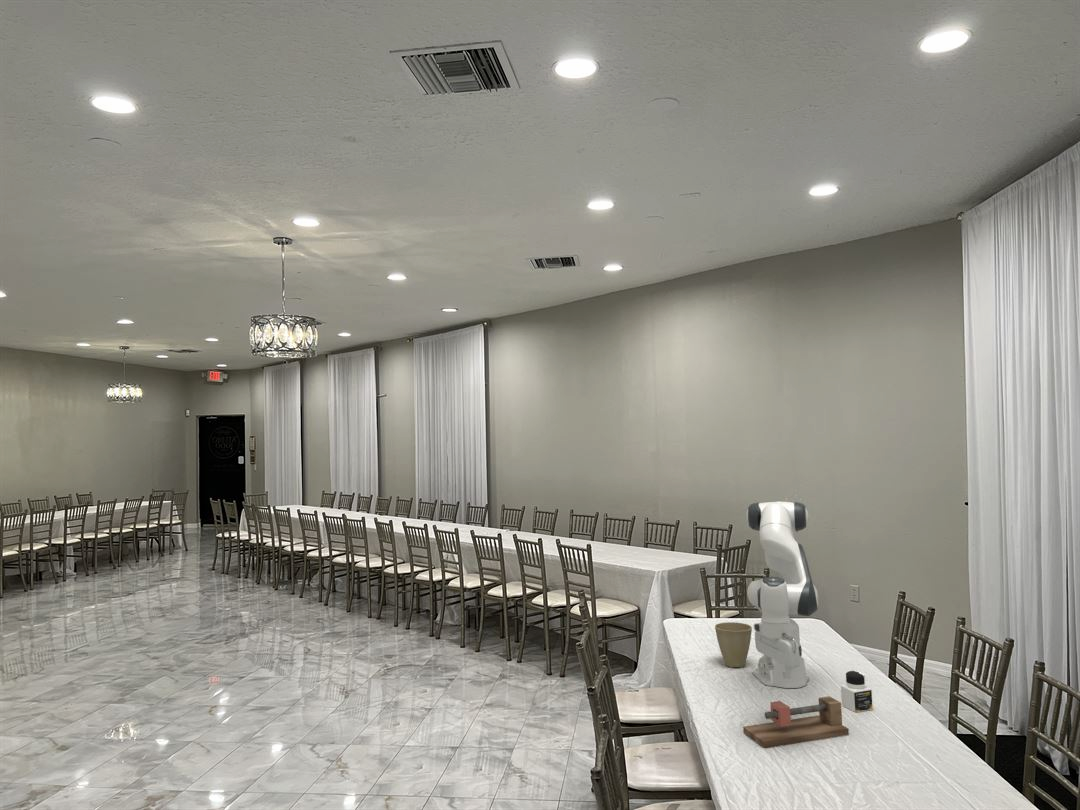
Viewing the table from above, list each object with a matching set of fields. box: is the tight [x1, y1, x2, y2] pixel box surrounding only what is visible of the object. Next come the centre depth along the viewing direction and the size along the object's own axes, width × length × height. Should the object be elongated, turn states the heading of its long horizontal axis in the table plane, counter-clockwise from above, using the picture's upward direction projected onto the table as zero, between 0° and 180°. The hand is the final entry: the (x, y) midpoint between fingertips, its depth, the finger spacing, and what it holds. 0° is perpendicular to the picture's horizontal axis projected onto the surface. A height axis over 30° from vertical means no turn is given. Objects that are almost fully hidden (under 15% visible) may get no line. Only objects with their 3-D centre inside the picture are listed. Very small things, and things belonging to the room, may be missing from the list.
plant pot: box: [714, 621, 753, 668], centre depth 297 cm, size 15×15×16 cm
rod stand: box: [742, 695, 850, 749], centre depth 228 cm, size 12×30×9 cm, turn 104°
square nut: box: [769, 700, 792, 727], centre depth 227 cm, size 6×4×6 cm, turn 14°
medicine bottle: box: [840, 670, 874, 713], centre depth 247 cm, size 7×7×12 cm
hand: (778, 673), depth 227 cm, fingers open, 8 cm apart
